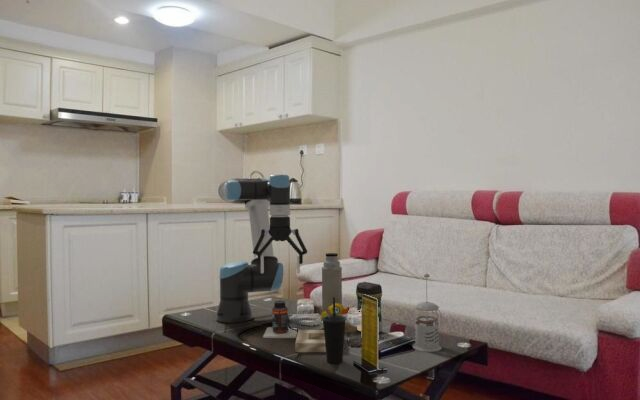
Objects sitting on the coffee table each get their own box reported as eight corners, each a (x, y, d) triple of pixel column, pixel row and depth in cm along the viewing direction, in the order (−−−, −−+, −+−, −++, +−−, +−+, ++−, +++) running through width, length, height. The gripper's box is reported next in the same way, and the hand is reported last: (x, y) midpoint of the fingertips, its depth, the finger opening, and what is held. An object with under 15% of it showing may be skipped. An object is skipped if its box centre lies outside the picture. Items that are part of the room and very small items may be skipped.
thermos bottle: (323, 320, 209) (322, 252, 209) (342, 320, 208) (342, 252, 208) (321, 325, 201) (320, 254, 201) (341, 325, 200) (340, 254, 200)
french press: (406, 346, 173) (405, 273, 173) (428, 340, 180) (428, 269, 180) (428, 353, 165) (428, 277, 165) (451, 346, 173) (451, 273, 172)
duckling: (351, 328, 197) (351, 302, 196) (347, 331, 192) (347, 305, 191) (323, 326, 200) (322, 300, 200) (319, 329, 195) (318, 303, 195)
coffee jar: (352, 331, 192) (352, 282, 192) (366, 327, 198) (366, 279, 197) (372, 336, 185) (371, 285, 185) (385, 332, 191) (385, 282, 190)
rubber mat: (263, 338, 185) (263, 336, 185) (267, 328, 197) (267, 327, 197) (296, 338, 184) (296, 336, 184) (298, 328, 196) (298, 327, 196)
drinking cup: (318, 359, 161) (317, 296, 160) (340, 356, 164) (339, 294, 163) (328, 367, 154) (327, 301, 153) (351, 363, 157) (350, 298, 156)
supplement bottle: (291, 330, 192) (290, 300, 192) (283, 334, 186) (282, 303, 186) (277, 328, 194) (277, 299, 194) (269, 332, 189) (268, 302, 189)
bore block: (295, 352, 168) (295, 343, 168) (298, 338, 184) (298, 329, 184) (343, 352, 168) (343, 343, 168) (342, 337, 184) (342, 329, 184)
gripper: (244, 216, 186) (245, 274, 187) (312, 216, 185) (313, 274, 186) (248, 215, 194) (248, 271, 194) (313, 215, 193) (314, 271, 194)
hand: (280, 272), depth 190 cm, fingers open, 13 cm apart
